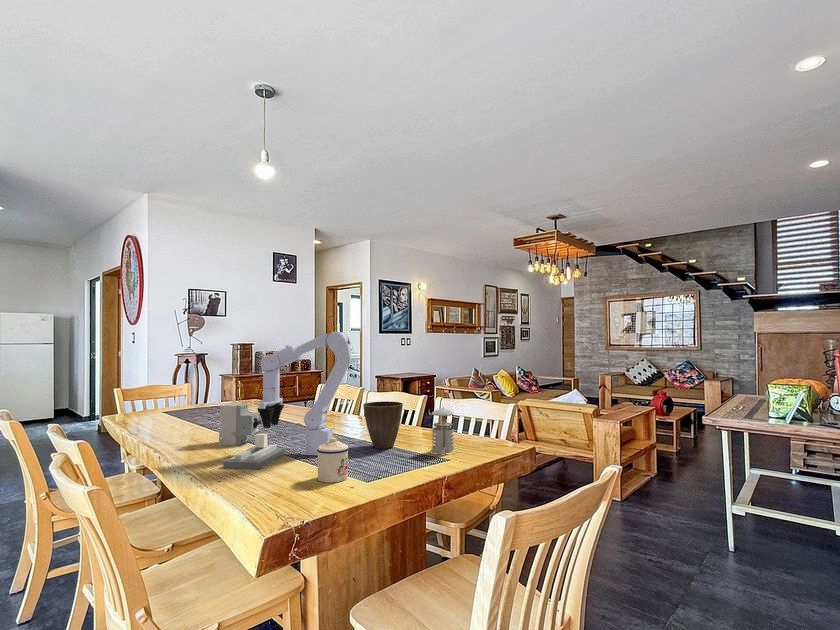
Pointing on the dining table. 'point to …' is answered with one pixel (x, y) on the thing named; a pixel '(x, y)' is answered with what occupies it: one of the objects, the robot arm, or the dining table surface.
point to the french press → (443, 433)
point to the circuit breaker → (237, 423)
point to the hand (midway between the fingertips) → (270, 426)
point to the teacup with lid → (332, 461)
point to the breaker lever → (260, 441)
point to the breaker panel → (257, 462)
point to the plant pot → (383, 422)
